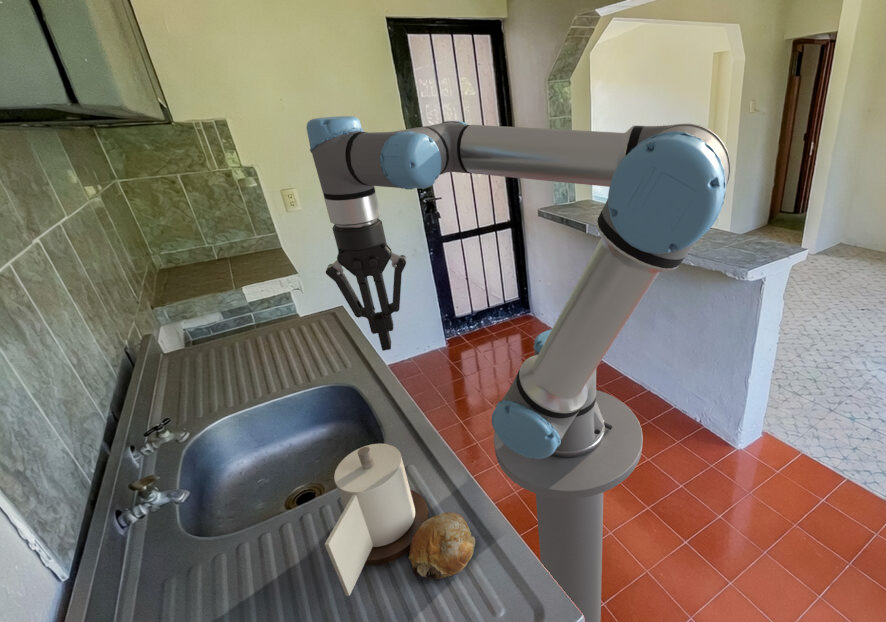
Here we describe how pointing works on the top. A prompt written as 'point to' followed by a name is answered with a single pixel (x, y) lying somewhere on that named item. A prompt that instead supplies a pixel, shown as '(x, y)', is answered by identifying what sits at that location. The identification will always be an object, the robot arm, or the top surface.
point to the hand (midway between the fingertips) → (386, 346)
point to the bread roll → (441, 546)
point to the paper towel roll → (368, 510)
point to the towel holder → (403, 543)
